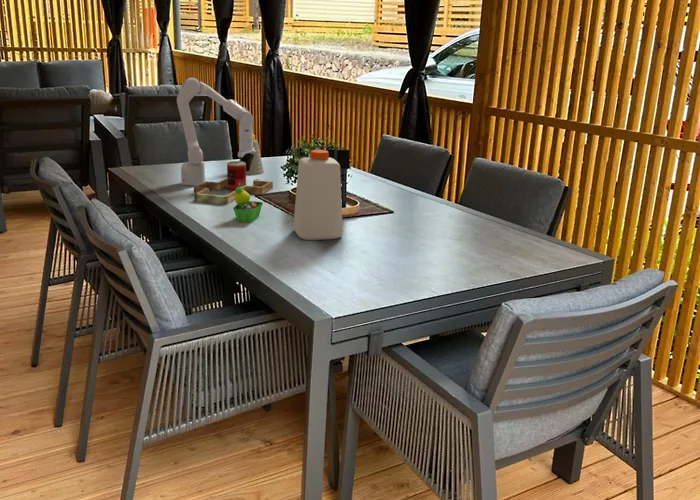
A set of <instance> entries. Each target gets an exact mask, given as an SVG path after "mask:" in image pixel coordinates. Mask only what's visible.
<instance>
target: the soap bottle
mask: <svg viewBox="0 0 700 500" xmlns="http://www.w3.org/2000/svg"><path fill="white" fill-rule="evenodd" d="M253 147H255V150H256V152H252V153H251V154H254V157H253V159H252V162H251V167H250V171H246V176H258V175H262V174H264V172H265V170H264V165H263V161H262V156H261V150H260V146H259V142H258V140H257V139H256V135H255V134H254V133H253ZM238 161H241V160H240V159H239V160H238Z"/></svg>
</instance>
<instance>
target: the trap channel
mask: <svg viewBox="0 0 700 500" xmlns="http://www.w3.org/2000/svg"><path fill="white" fill-rule="evenodd" d="M205 181H206V182H204V183H202V184H200V185H198V186H193V195H194V196H193V199H194V200H193V202H195V203H203V204H205V203H206V204H207V203H208V204H216V205H225V206H227V205H229V204H231V203H232V202H233V201H235V194H234V192H235V191H233V190H232V192H230V193H228V194H227V195H218V194H217V195H215V194H210V190H213V191H221V190H223V189H225V188H226V187H227V188H228V181H227V177H226V178H224V179H221V180H220V181H218V182H217V181H207V180H205ZM273 183H274V181H268V180H259V179H258V178H255V179H254V180H252V185H247V184H246V185H244V186H242V187H241V188H242V189H243V190H245V191H246V192H247V193H248V194H249V195H250V194H251V195H258V196H259V195H260V196H263V195H265V194H267V193H268V192H270V191H271V190H273V189H274V187H273V186H274V185H273Z"/></svg>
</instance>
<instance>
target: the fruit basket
mask: <svg viewBox="0 0 700 500" xmlns="http://www.w3.org/2000/svg"><path fill="white" fill-rule="evenodd" d="M234 194H235V200H234V201H235V203H236V205H235V206H234V207H232V209H233V211H234V214H235V217H236V222H241V223H242V222H243V223H252V222H253V221H255V220H256V219H257V218H258V217H259V216H260V215H261V210H262V206H263V204H264V202H262V201H254V200H250V199H251V195H250V194H248V193H247V192H246V191H245V190H243V189H242V188H240V187H239V188H236V189H235V192H234Z"/></svg>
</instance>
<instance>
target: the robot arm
mask: <svg viewBox="0 0 700 500" xmlns="http://www.w3.org/2000/svg"><path fill="white" fill-rule="evenodd" d="M198 94H199V96H200V95H201V96H207V97H209V98H210V99H212V100H213V101H214V102H216V103H218V104H219V105H220V106H222V108H223V109H222V110H223V112H225V113H226V114H228V115H229V116H231V117H232V118H233V119H235V120H238V122H239V130H238V131H239V150H238V152H237V157H238V158H239V160H241V162H245V163H246V171H250V167H251V162H252V159H253V157H254V154H251V153H252V152H256V150H255V147H253V134H254V129H253V124H254V121H255V120H254V116H253V114H252V113H251V112H250V111H249V110H247V108H246V107H243V106H241V105H240V104H239V103H238V101H236V100H235V99H226V98H225V97H224V96H222V95H221V94H220V93H219V92H218V91H216V90H214V89H213V88H212V87H211V86H209V85H208V84H206V83H204V82H203V81H199V79H197V78H195V77H189V78H186V79H185V81H184V82H183V83H182V84H181V87H180V90H179V92H178V94H177V96H176V104H177V109H178V111H179V112H178V113H179V115H180V116H179V117H180V121H181V124H182V129H183V133H184V136H185V141H186V146H187V159H188V161H186V162H183V163H182V164H181V167H180V179H181V180H180V181H181V183H180V185H182V186H190V187H191V186H193V187H195V186H198V185H200V184H202V183H204V182H206V181H207V180H206V176H205V175H206V172H205V167H206V166H205V161H204V154H203V153H204V152H203V150H202V149H201V147H200V145H199V142H198V138H197V134H196V133H197V132H196V129H195V124H194V121H193V117H192V112H191V108H190V104H189V103H191V100H192V99H193V98H194V97H195V96H197V95H198Z"/></svg>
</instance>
